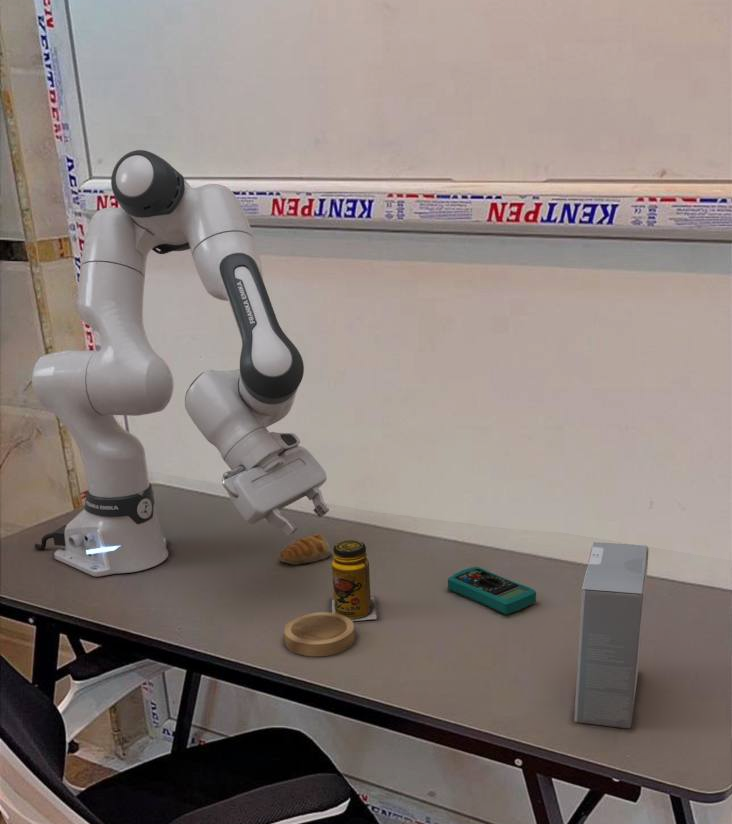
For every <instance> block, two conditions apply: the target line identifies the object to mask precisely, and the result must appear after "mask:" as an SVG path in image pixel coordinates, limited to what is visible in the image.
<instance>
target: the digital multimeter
mask: <svg viewBox="0 0 732 824" xmlns="http://www.w3.org/2000/svg"><path fill="white" fill-rule="evenodd" d="M447 590H449V591H450V592H453V593H455V594H458V595H459V596H462V597H465V598H467V599H469V600H472V601H474V602H476V603H479V604H481V605H482V606H485V607H487V608H489V609H492V610H495V611H497V612H499V613H501V614H504V615H506V616H507V615H510V614H513V613H515V612H517V611H521V610H522V609H523V610H524V608H526V607H529V606H531V605H533V604H534V603H536V602H537V591H536V590H535V589H533V588H532V587H530V586H526V585H524V584H521V583H519V582H516V581H513V580H510V579H509V578H505V577H503V576H500V575H498V574H496V573H493V572H491V571H489V570H486V569H485V568H482V567H479V566H473V567H468V568H465V569H462V570H460V571H458V572H456V573H454V574H452V575H451V576H449V577H448V578H447Z"/></svg>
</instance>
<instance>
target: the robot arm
mask: <svg viewBox="0 0 732 824" xmlns="http://www.w3.org/2000/svg"><path fill="white" fill-rule="evenodd" d="M110 185H111V190H112V193H113V196H114V198H115V200H116V202H117V203H118V205H119V206H118V207H112V206H111V207H104V208H101V209H99V210H97V211H95V213H94V214H93V215H92V217H91V218H90V221H89V223H88V227H87V230H86V234H85V237H84V241H83V247H82V253H81V257H80V258H81V259H80V267H79V278H78V288H77V299H76V308H77V313H78V314H79V316H80V318H81V320H82V321H83V322H84V323H85V324H86V325H87V326H88V327H89V328H91V329H93V330H94V331H96V332H97V333H99V335H100V339H101V340H100V341H101V342H100V343H101V345H100V349H99V350H90V349H89V350H86V349H85V350H79V349H76V350H75V349H65V350H60V351H55V352H50V353H48V354H44V355H42V356H40V357H39V358H38V360H37V361H36V362H35V364H34V367H33V369H32V373H31V386H32V390H33V393H34V395H35V397H36V399H37V400H38V402H39V403H40V404H41V405H42V406H43V407H44V408H46V409H47V410H49V411H50V412H51V413H52V414H53V415H55V416H56V417H57V419H59V421H61V423H62V424H63V425H64V427H65V428H66V429H67V430H68V432H69V434H70V435H71V437H72V439H73V441H74V442H75V445H76V446H77V448H78V452H79V453H80V456H81V462H82V466H83V470H84V474H85V480H86V485H87V490H84V491H82V492H80V493H78V496H80V495H81V496H80V497H79V498H78V499H79V500H83V499H84V500H85V501H84V507H83V509H82V511H80V512H79V513H78V514H77V515H76V516H75V517H74V518H73V519H71V521H69V522H68V523H67V524H64V525H62V526H60V527H58V528H57V529H56V530H53V532H50V533H47V534H45V535H43V537H42V538H41V542H40V543H41V544H40V543H35V544H34V549H36V550H44V549H45V548H46V547H47V541H48V540H49V539H53V545H54V546H59V548H58V549H57V550H56V551H55V552H54V553H53V554H54V557H53V558H54V559H55V560H56V561H59V562H61V563H63V564H66V565H68V566H69V567H72V568H74V569H77V570H79V571H80V572H83V573H85V574H88V575H90V576H92V577H96V578H97V577H104V576H109V575H116V574H128V573H136V572H141V571H144V570H145V571H146V570H148V569H151V568H154V567H156V566H158V565H160V564H161V563H163V562H165V560H167V558H168V557H169V550H168V549H167V544H168V543H167V539H166V537H164V536H163V533H162V529H161V524H160V521H159V516H158V513H157V509H156V507H155V501H156V500H155V496H154V495H155V492H154V489H153V484H152V483H151V482H150V480H149V479H150V477H149V472H148V465H147V458H146V451H145V447H144V445H143V443H142V442H141V440H140V439H139V438H138V437H137V436H136V435H134V434H132V433H131V432H130V431H128V430H126V429H124V428H123V427H122V426H121V424H120V423H119V422H118V421H117V419H116V417H115V416H127V417H128V416H129V417H130V416H131V417H132V416H133V417H139V416H145V415H150V414H154V413H159V412H162V411H163V410H165V409H166V408H167V406H168V405H169V404H170V401H171V400H172V397H173V394H174V385H175V383H174V377H173V373H172V370H171V368H170V366H169V365H168V363H167V362H166V361H165V359H163V358H162V357H161V356H160V355H159V354H158V353H157V352H156V351H155V349H154V348H153V347H152V345H151V344H150V341H149V339H148V337H147V334H146V331H145V326H144V295H145V294H144V293H145V281H146V270H147V261H148V256H149V254H150V252H151V251H153V252H155V253H157V254H158V255H165V254H166V255H167V254H168V253H172V252H184V251H189V250H190V252H191V253H190V254H191V256H192V259H193V264H194V267H195V269H196V272H197V274H198V276H199V279H200V281H201V283H202V286H203V287H204V289H205V291H206V292H207V294H208V295H210V296H211V297H213V298H215V299H217V300H220V301H223V302H228V303H229V306H230V309H231V312H232V315H233V318H234V321H235V323H236V327H237V329H238V333H239V336H240V338H241V350H240V351H241V352H240V357H239V368H238V369H232V370H213V369H207V370H205V371H203V372H201V373H200V374H199V375H198V376H197V377H195V379H194V380H193V381H192V382H191V384H190V385H189V387H188V389H187V390H186V392H185V397H184V408H185V410H186V412H187V415H188V416H189V417H190V419H191V421H192V422H193V423H194V425H195V427H196V428H197V429H198V430H199V432H200V433H201V435H203V437H204V438H205V439H206V441H207V442H208V443H210V444H211V445H213V446H214V447H215V448H216V449H217V450H218V452H219V454H220V457H221V458H222V460H223V461H224V463H225V464H226V466H227V467H228V468H229V469H230V470H227V471H225V472H224V473H223V474H222V478H221V484H222V487H223V488H224V489H225V490H226V492H227V494H228V497H229V498H230V501H231V502H232V504H233V505H234V507H235V508H236V510H237V511H238V513H239V514H240V516H241V517H242V518H243V520H245V522H247V523H250V524H251V525H254V524H257V523H259V522H260V521H262V520H266V521H267V522H268V523H269V524H270V525H272V526H273V527H276V528H277V529H280V530H281V531H282V533H284V535H285V536H288V537H289V536H290V535H292V534H294V533H295V532H296V531H297V530H298V526H297V524H295V522H294V521H293V519H290V520H288V519H287V518H285V517H284V516H282V515H281V510H283V509H285V507H288V506H289V505H291V504H293V503H295V502H297V501H300V500H301V499H303V498H305V497H306V498H307V499H308V500H309V501H312V504H313V506H314V509H313V510H312V511H313V512H314V513H315V515H316V516H317V517H319V518H322V517H323V516H326V514H327V513H328V512H329V511H330V507H329V506H328V505H327V504H326V502H325V501H324V500H325V499H324V497H323V494H322V490H321V489H320V488H321V487H322V486H323V485H324V484H325V482H326V481H327V479H328V478H327V477H328V476H327V474H326V471H325V469H324V468H323V466H322V465H321V464H320V462H319V461H318V460H317V459H316V458H315V457H314V455H313V454H312V453H311V452H310V451H309V449H307V448H306V447H304V446H301V445H300V444H301V440H300V438H299V436H297V434H295V433H292V432H275V431H269V430H268V427H270V426H272V425H274V424H276V423H278V422H280V421H281V420H283V419H285V417H286V416H287V415H288V414H289V413H290V412H291V410H292V408H293V405H294V403H295V399H296V396H297V393H298V388H299V387H300V385H301V383H302V381H303V378H304V372H305V367H304V366H305V365H304V360H303V357H302V355H301V353H300V351H299V349H298V348H297V347H296V345H295V344H294V343H293V341H292V340H291V339H290V338H289V337H288V336H287V335H286V334H285V332H284V330H283V328H281V325H280V323H279V321H278V319H277V315H276V313H275V310H274V307H273V304H272V301H271V299H270V296H269V294H268V291H267V288H266V285H265V282H264V277H263V270H262V268H263V267H262V262H261V258H260V253H259V249H258V245H257V242H256V238H255V236H254V233H253V230H252V227H251V224H250V222H249V219H248V218H247V215H246V213H245V211H244V209H243V207H242V205H241V203H240V201H239V199H238V198H237V196H236V194H235V193H234V191H232V190H231V189H230V188H229V187H227V186H225V185H222V184H219V183H218V184H217V183H209V184H203V185H200V186H199V187H193V186H191V185H190V184H189V183H188V182H187V180H186V179H185V177H184V176H183V174H181V173H180V172H179V171H178V170H177V169H176V168H174V167H173V166H172V165H171V164H170V163H169V162H168V161H167V160H165V159H164V158H162V157H161V156H159V155H157V154H156V153H153V152H150V151H148V150H143V149H136V150H132V151H129V152H127V153H125V154H124V155H123V156H122V157H120V159H119V160H118V161H117V162H116V164H115V165H114V167H113V169H112V173H111V177H110Z"/></svg>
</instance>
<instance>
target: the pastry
mask: <svg viewBox="0 0 732 824" xmlns="http://www.w3.org/2000/svg"><path fill="white" fill-rule="evenodd" d="M331 553H332V550H331V548H330V544H329V543H328V542H327V538H326V537H325V536H324V535H322V534H320V533H317V534H315V533H313V534H312V535H310V536H304V537H300V538H297V539H296V540H295V541H294V542H292V543H291V544H288V545H287V546H286V547H285V548H283V550H281V551H280V557H279V560H280V561H281V562H283V563H286V564H290V565H294V566H295V565H301V564H308V563H315V562H318V561H320V560H326V559H327V558H329V557H330V554H331Z"/></svg>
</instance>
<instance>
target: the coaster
mask: <svg viewBox="0 0 732 824" xmlns="http://www.w3.org/2000/svg"><path fill="white" fill-rule="evenodd" d="M283 637H284V638H283V639H284V645H285V647H286V648H287V649H288V650H289V651H290V652H291V653H294V654H297V655H300V656H304V657H314V658H317V657H329V656H333V655H337V654H339V653H342V652H344V651H347V650H348V649H350V648H351V646H353V644H354V642H355V640H356V635H355V624H354V621H351V620H350V619H349V618H348V617H346V616H343V615H340V614H336V613H332V612H327V611H326V612H325V611H320V612H310V613H305V614H301V615H298V616H296V617H294V618H292V619H291V620H289V621H288V622H287V623H286V624H285V625H284V628H283Z"/></svg>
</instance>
